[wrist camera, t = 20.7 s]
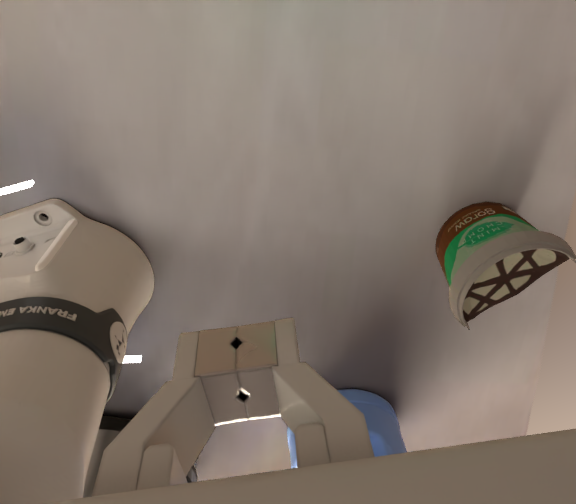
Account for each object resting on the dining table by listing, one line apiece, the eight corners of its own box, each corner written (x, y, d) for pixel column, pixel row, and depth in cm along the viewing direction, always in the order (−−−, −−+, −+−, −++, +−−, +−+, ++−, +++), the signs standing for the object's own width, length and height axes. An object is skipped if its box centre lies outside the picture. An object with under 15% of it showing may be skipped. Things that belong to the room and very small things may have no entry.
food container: (502, 167, 49) (556, 216, 41) (529, 206, 52) (583, 260, 44) (401, 239, 53) (431, 297, 45) (431, 272, 56) (464, 333, 48)
